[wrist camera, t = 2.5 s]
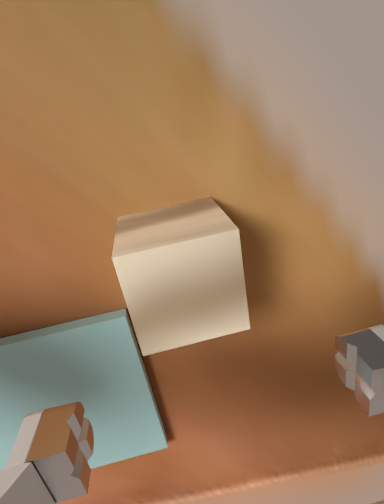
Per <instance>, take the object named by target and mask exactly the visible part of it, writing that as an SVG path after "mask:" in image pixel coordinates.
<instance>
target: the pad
mask: <svg viewBox="0 0 384 504" xmlns="http://www.w3.org/2000/svg"><path fill="white" fill-rule="evenodd" d="M74 402H81V403H82V405H83V407H84V409H85V411H84V417H85V418H87V419H88V420H90V423H91V425H92V429H93V434H94V448H93V454H92V456H91V457H90V459H89V460H88V461H87V462H88V464H89V466H90V469H92V468H96V467H99V466H103V465H107V464H110V463H114V462H117V461H121V460H125V459H128V458H132V457H136V456H139V455H143V454H146V453H150V452H154V451H157V450H161V449H165V448H168V442H167V436H166V433H165V429H164V426H163V423H162V420H161V417H160V414H159V411H158V408H157V404H156V401H155V398H154V395H153V392H152V389H151V386H150V383H149V379H148V376H147V373H146V370H145V367H144V364H143V361H142V357H141V354H140V351H139V348H138V345H137V342H136V339H135V336H134V332H133V329H132V326H131V323H130V320H129V317H128V314H127V310H126V308H125V309H121V310H117V311H113V312H108V313H104V314H100V315H96V316H92V317H87V318H83V319H79V320H75V321H71V322H66V323H62V324H58V325H54V326H50V327H45V328H41V329H37V330H33V331H29V332H25V333H20V334H16V335H12V336H8V337H4V338H0V470H2V469H5V466H6V464H7V461H8V458H9V456H10V453H11V451H12V448H13V445H14V443H15V440H16V437H17V435H18V432H19V430H20V427H21V424H22V422H23V419H24V417H25V416H26V415H27V414H28V413H32V412H36V411H40V410H45V409H48V408H52V407H56V406H61V405H65V404H70V403H74Z"/></svg>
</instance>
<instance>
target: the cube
mask: <svg viewBox="0 0 384 504" xmlns="http://www.w3.org/2000/svg"><path fill="white" fill-rule="evenodd" d="M112 261H113V264H114V267H115V270H116V273H117V276H118V279H119V282H120V286H121V289H122V292H123V295H124V298H125V301H126V304H127V308H128V311H129V314H130V317H131V320H132V323H133V326H134V329H135V333H136V336H137V339H138V342H139V345H140V348H141V351H142V355H143V356H146V355H150V354H154V353H158V352H162V351H166V350H169V349H173V348H177V347H181V346H185V345H189V344H193V343H197V342H201V341H205V340H209V339H213V338H217V337H221V336H225V335H228V334H232V333H236V332H240V331H244V330H248V329H250V322H249V313H248V304H247V296H246V287H245V278H244V269H243V261H242V252H241V243H240V235H239V229H238V227H237V226H236V225H235V224H234V223H233V222H232V221H231V219H230V218H229V217H228V216H227V215H226V214H225V212H224V211H223V210H222V209H221V208H220V207H219V206H218V204H217V203H216V202H215V201H214V200H213V199H212V197H208V198H204V199H199V200H195V201H190V202H185V203H181V204H176V205H172V206H167V207H162V208H158V209H153V210H149V211H144V212H139V213H135V214H130V215H126V216H121V217H117V224H116V231H115V238H114V245H113V252H112Z"/></svg>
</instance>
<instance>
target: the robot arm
mask: <svg viewBox="0 0 384 504" xmlns="http://www.w3.org/2000/svg"><path fill="white" fill-rule="evenodd" d="M335 347H336V348H337V350H338V352H337V354H336V355H335V356H334V365H335V368H336V372H337V374H338V376H339V378H340V380H341V381H342V383H343V384H344V385H345V387H347V388H350V389H352V390H354V391H355V399H356V401H357V402H358V403H359V405H360V406H361V407H362V408H363V410H364V411H365V412H366V413H367V415H368V416H373V415H377V414H381V413H384V325H382V324H380V325H376V326H373V327H369V328H366V329H361V330H358V331H354V332H350V333H346V334H342V335H339V336H336V338H335ZM84 411H85V409H84V407H83V405H82V403H81V402H74V403H70V404H65V405H61V406H56V407H52V408H48V409H45V410H40V411H36V412H32V413H28V414H27V415H26V416H25V417H24V419H23V422H22V424H21V427H20V430H19V432H18V435H17V437H16V440H15V443H14V445H13V448H12V451H11V453H10V456H9V458H8V461H7V464H6V466H5V469H2V470H0V504H56V503H59V502H63V501H66V500H69V499H72V498H76V497H79V496H82V495H85V494H87V493H88V486H89V479H90V472H91V469H90V466H89V464H88V462H87V461H88V460H89V459H90V457H91V456H92V454H93V448H94V434H93V429H92V425H91V423H90V420H88V419H87V418H85V417H84ZM372 504H384V500H383V501H379V502H376V503H372Z"/></svg>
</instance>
